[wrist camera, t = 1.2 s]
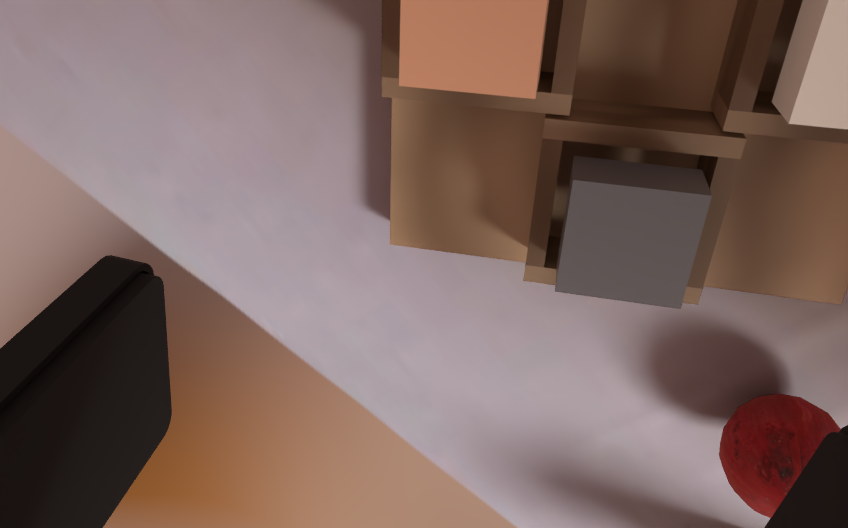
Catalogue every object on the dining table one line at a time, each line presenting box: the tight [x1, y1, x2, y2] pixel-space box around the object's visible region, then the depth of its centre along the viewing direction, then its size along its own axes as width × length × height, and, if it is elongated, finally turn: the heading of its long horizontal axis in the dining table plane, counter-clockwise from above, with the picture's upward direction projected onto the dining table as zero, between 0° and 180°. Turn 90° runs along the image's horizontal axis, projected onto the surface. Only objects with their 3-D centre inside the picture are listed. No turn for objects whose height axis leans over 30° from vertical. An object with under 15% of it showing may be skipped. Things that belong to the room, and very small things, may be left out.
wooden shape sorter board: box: [382, 0, 848, 305], centre depth 28 cm, size 21×17×5 cm
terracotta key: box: [399, 0, 549, 99], centre depth 24 cm, size 5×5×2 cm
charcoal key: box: [555, 156, 712, 309], centre depth 27 cm, size 5×5×2 cm
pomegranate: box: [719, 394, 841, 518], centre depth 33 cm, size 6×6×8 cm
